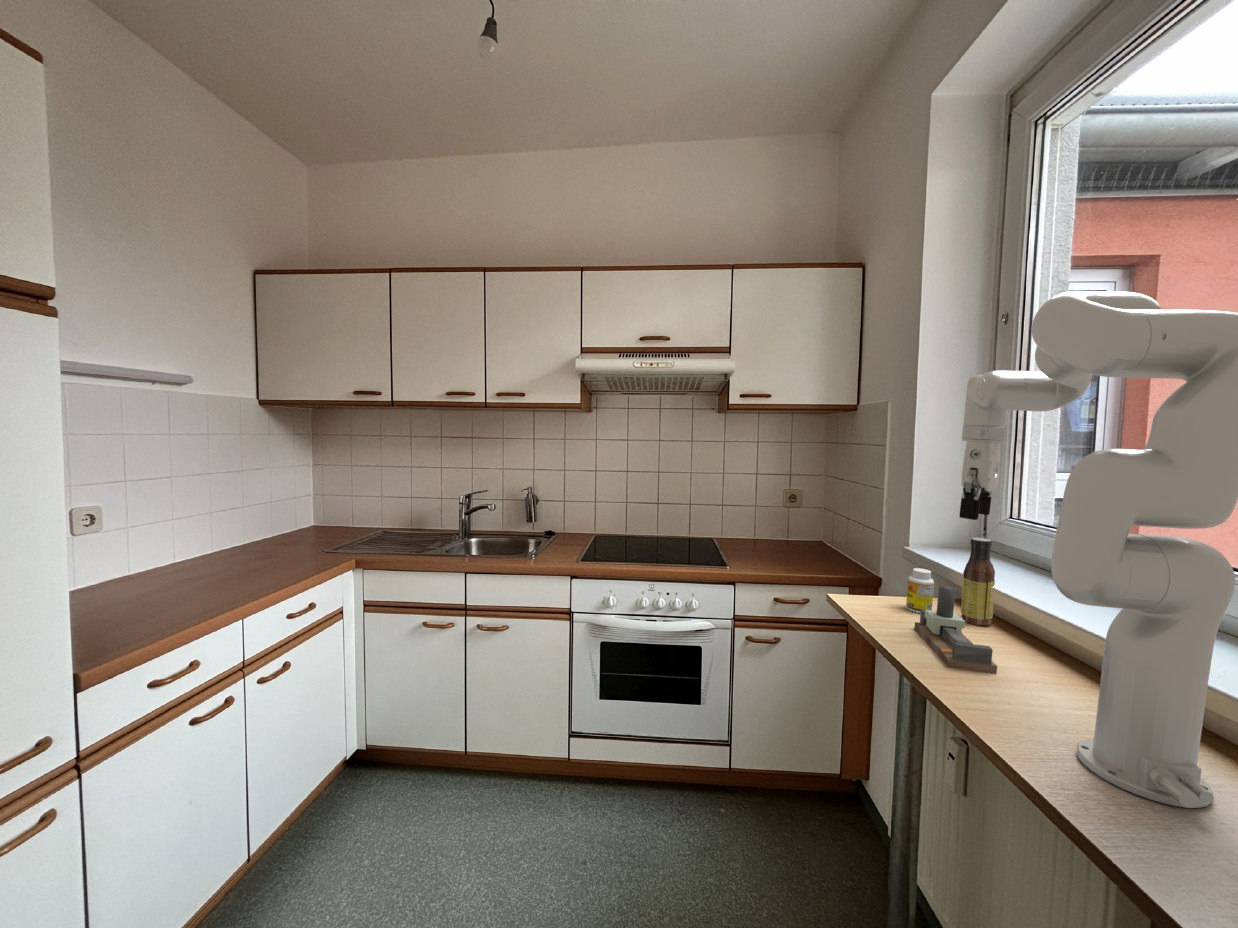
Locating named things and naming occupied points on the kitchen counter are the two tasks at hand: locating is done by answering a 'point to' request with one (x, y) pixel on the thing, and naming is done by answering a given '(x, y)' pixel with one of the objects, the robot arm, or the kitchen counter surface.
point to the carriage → (944, 612)
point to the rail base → (956, 648)
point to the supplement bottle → (920, 591)
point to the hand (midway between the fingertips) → (974, 516)
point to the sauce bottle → (978, 584)
